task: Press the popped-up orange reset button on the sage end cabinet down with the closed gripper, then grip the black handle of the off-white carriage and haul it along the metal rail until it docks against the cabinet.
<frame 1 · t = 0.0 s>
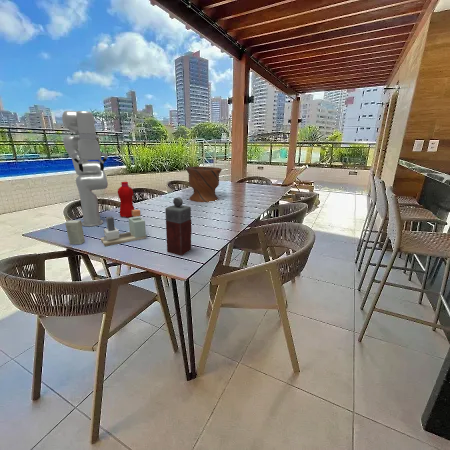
hand: (92, 171, 133), 37 cm above the table, tool pointing down, fingers open, 9 cm apart
reset button: (136, 212, 140), point 14 cm above the table, slide at 3.0 cm
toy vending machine: (180, 250, 129), on the table
end cabinet: (138, 236, 144), resting on track
water bottle: (128, 216, 181), on the table
track: (123, 239, 140), on the table
wooden planter: (203, 199, 244), on the table
skincare box: (77, 243, 133), on the table
carriage: (111, 227, 134), point 8 cm above the table, slide at 0.0 cm
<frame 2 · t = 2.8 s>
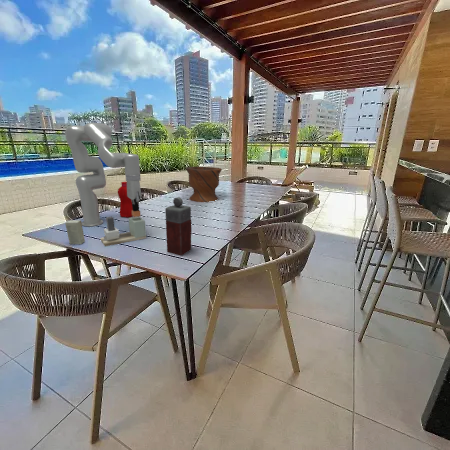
hand: (136, 210, 139), 16 cm above the table, tool pointing down, fingers closed
reset button: (136, 213, 140), point 14 cm above the table, slide at 2.9 cm, touching gripper
everything else where it was.
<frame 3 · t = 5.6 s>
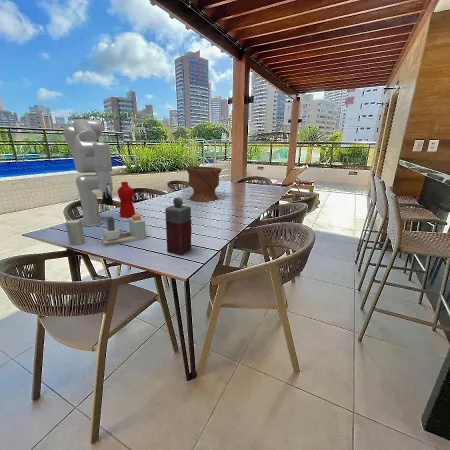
hand: (108, 203, 129), 21 cm above the table, tool pointing down, fingers open, 5 cm apart
reset button: (136, 218, 141), point 11 cm above the table, slide at -0.2 cm
everything else where it was.
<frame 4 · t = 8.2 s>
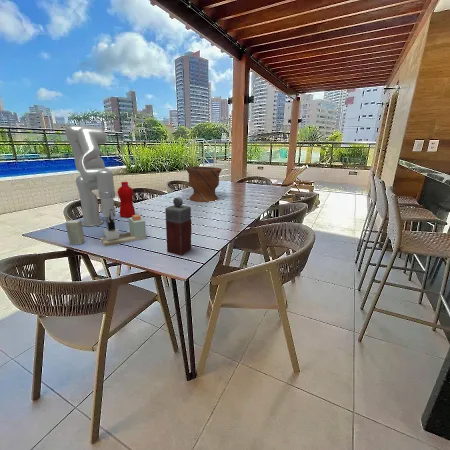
hand: (111, 227, 134), 8 cm above the table, tool pointing down, fingers closed on carriage, 3 cm apart
carriage: (111, 227, 134), point 8 cm above the table, slide at 0.0 cm, touching gripper
everything else where it was.
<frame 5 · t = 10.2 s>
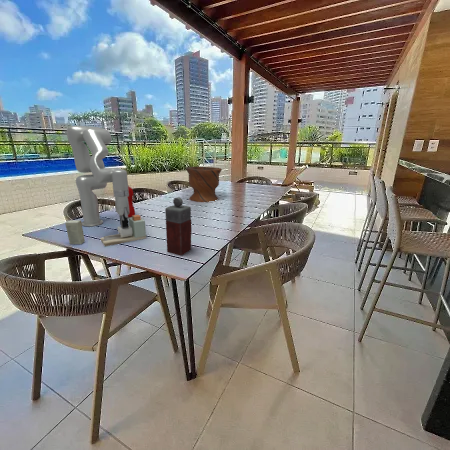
hand: (124, 225, 138), 8 cm above the table, tool pointing down, fingers closed on carriage, 3 cm apart
carriage: (124, 225, 138), point 8 cm above the table, slide at 7.1 cm, touching gripper
everything else where it was.
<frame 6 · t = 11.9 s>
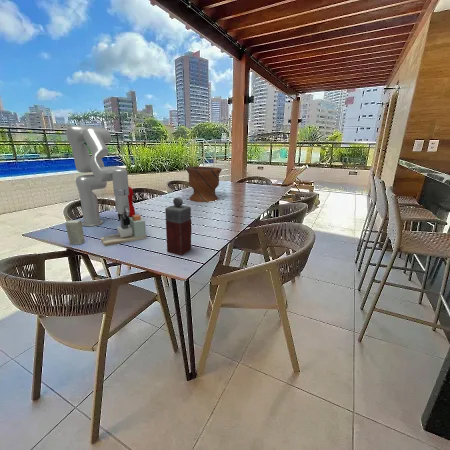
hand: (124, 222, 137), 10 cm above the table, tool pointing down, fingers open, 9 cm apart
carriage: (124, 225, 138), point 8 cm above the table, slide at 7.0 cm
everything else where it was.
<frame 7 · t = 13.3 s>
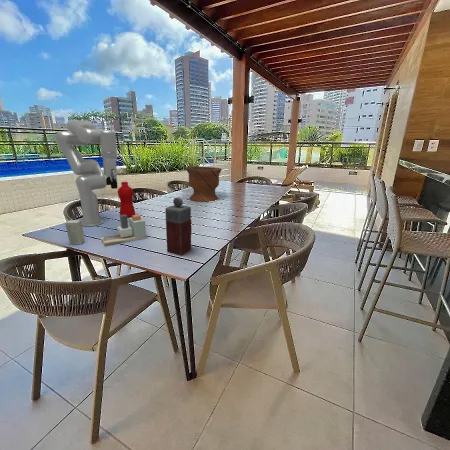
hand: (112, 186, 138), 28 cm above the table, tool pointing down, fingers open, 9 cm apart
nothing on the table moved.
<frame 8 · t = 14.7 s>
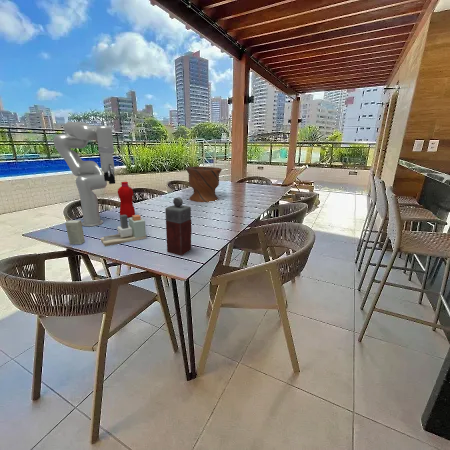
hand: (109, 182, 139), 30 cm above the table, tool pointing down, fingers open, 9 cm apart
nothing on the table moved.
at the end: reset button slide at -0.2 cm; carriage slide at 7.0 cm; the gripper is holding nothing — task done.
